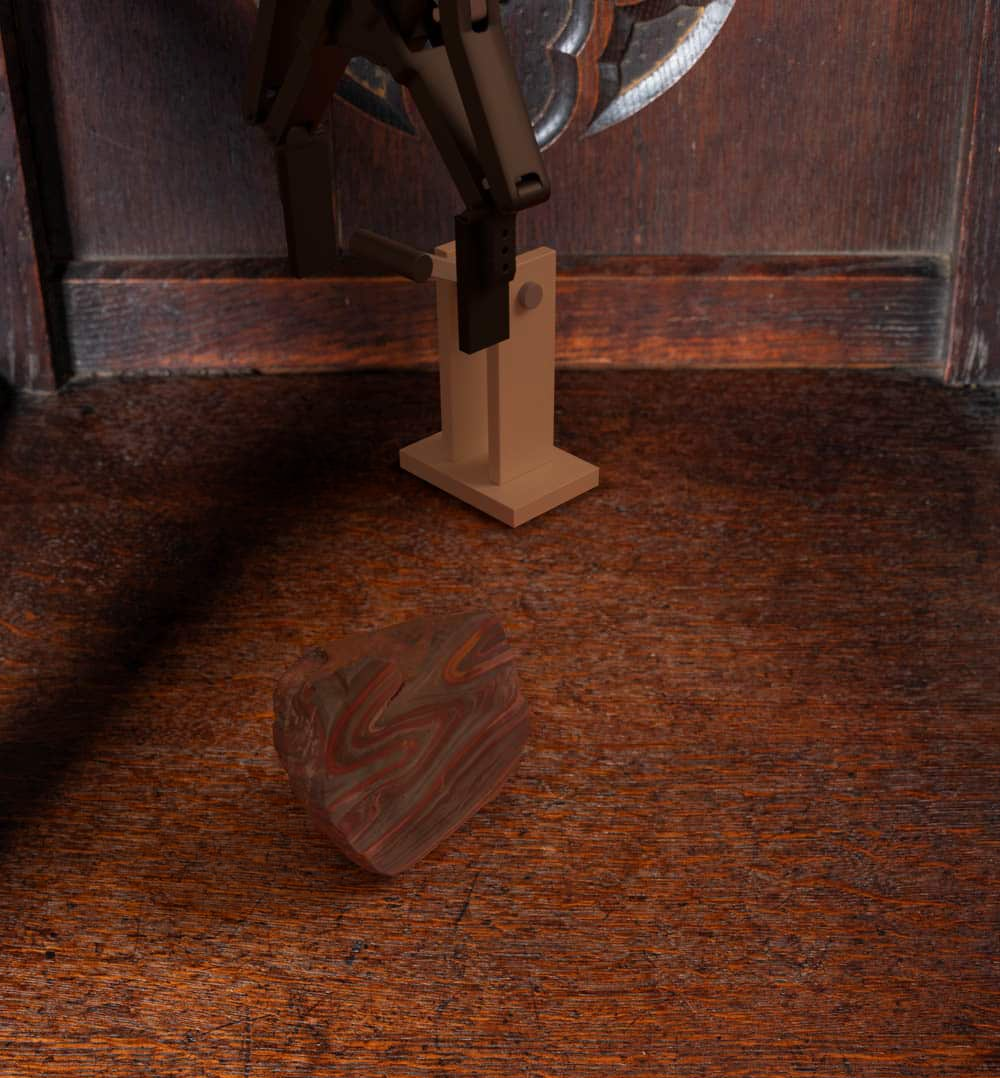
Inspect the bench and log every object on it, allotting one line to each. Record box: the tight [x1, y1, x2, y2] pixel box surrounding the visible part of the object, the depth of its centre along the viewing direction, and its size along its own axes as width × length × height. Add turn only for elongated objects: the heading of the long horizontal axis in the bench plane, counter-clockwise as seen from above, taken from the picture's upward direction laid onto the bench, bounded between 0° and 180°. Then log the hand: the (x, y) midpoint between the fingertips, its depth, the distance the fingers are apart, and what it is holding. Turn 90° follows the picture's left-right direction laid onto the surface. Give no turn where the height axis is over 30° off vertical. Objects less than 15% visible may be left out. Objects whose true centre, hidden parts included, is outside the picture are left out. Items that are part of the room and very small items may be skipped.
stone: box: [272, 608, 532, 877], centre depth 60 cm, size 13×8×10 cm
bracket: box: [398, 240, 600, 529], centre depth 82 cm, size 7×10×14 cm
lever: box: [348, 228, 457, 284], centre depth 76 cm, size 10×5×2 cm, turn 135°
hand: (395, 306), depth 74 cm, fingers open, 13 cm apart
